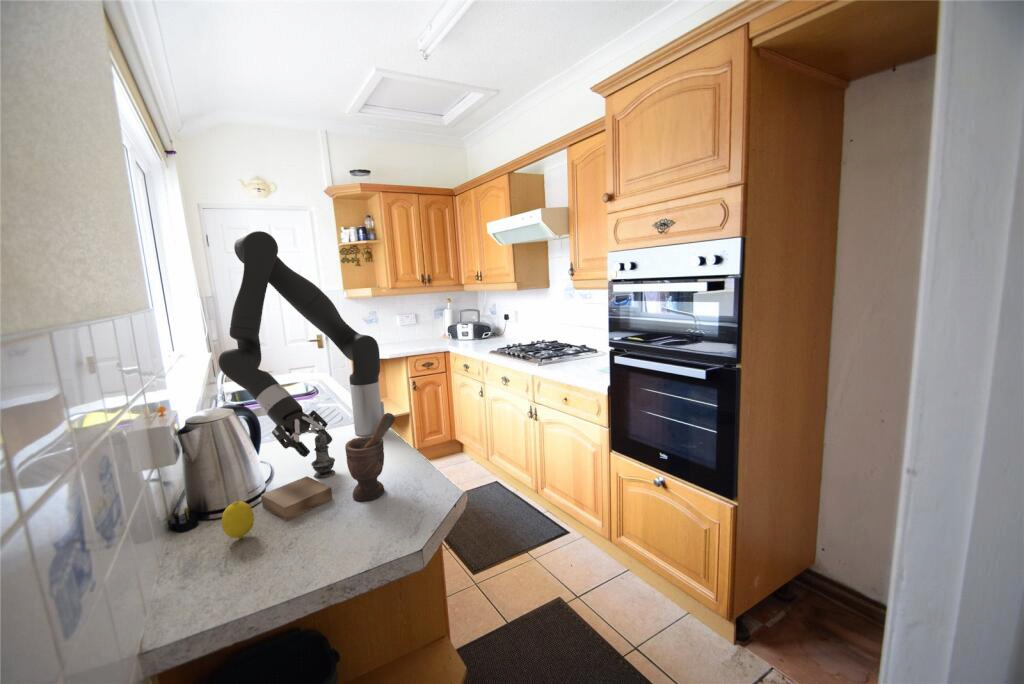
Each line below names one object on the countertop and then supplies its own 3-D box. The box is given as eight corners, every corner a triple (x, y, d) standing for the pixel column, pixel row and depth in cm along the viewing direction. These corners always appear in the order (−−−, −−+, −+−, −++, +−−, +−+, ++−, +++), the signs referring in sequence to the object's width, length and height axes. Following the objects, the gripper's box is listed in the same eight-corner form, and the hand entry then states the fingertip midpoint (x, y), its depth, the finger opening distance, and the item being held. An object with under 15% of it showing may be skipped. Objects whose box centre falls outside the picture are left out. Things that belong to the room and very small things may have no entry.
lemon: (262, 532, 91) (257, 496, 90) (238, 548, 86) (232, 510, 85) (243, 528, 93) (237, 493, 92) (218, 544, 88) (212, 506, 87)
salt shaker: (340, 469, 121) (335, 427, 119) (329, 479, 115) (324, 435, 113) (320, 469, 121) (315, 427, 119) (308, 479, 115) (302, 435, 114)
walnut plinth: (308, 487, 111) (306, 476, 110) (332, 499, 104) (331, 487, 104) (262, 506, 102) (260, 494, 102) (286, 520, 96) (284, 507, 95)
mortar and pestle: (399, 480, 112) (392, 405, 109) (402, 496, 104) (395, 414, 101) (350, 490, 108) (342, 411, 105) (350, 506, 100) (341, 422, 97)
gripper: (264, 403, 111) (306, 450, 109) (305, 388, 124) (344, 430, 123) (250, 422, 113) (291, 468, 111) (292, 406, 127) (330, 447, 125)
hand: (319, 448), depth 117 cm, fingers open, 8 cm apart
